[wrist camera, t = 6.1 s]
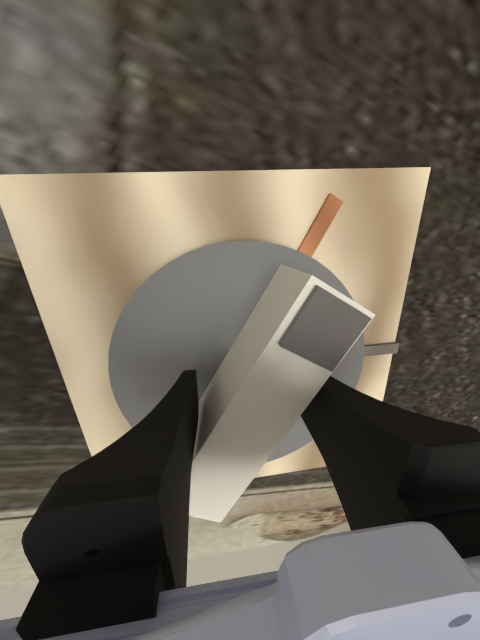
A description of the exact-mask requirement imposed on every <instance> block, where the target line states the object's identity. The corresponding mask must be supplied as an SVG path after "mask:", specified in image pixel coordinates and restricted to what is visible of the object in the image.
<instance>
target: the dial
mask: <svg viewBox="0 0 480 640" xmlns="http://www.w3.org/2000/svg"><path fill="white" fill-rule="evenodd" d="M374 316H375V314H374V313H372V312H371V311H369V310H367V309H366V308H364V307H363V306H361V305H359V304H358V303H356V302H355V301H354V300H353V298H352V296H351V295H350V293H349V292H348V291H347V289H346V288H345V286H344V285H343V283H342V282H341V281H340V280H339V279H338V278H337V277H336V276H335V275H334V274H333V273H332V272H331V271H330V270H329V269H327V268H326V267H325V266H324V265H322V264H321V263H320V262H318V261H317V260H315V259H313V258H311V257H310V256H308V255H306V254H304V253H302V252H300V251H297V250H294V249H292V248H289V247H286V246H283V245H278V244H273V243H269V242H260V241H245V240H240V241H227V242H220V243H216V244H211V245H206V246H203V247H200V248H198V249H195V250H192V251H190V252H187V253H185V254H183V255H181V256H180V257H178V258H176V259H174V260H172V261H170V262H169V263H167V264H166V265H164V266H163V267H162V268H160V269H159V270H158V271H156V272H155V273H153V274H152V275H151V276H150V277H149V278H148V279H147V280H146V281H145V282H144V283H143V284H142V285H141V286H140V287H139V288H138V289H137V290H136V291H135V293H134V294H133V295H132V297H131V298H130V299H129V301H128V302H127V303H126V305H125V307H124V308H123V310H122V312H121V314H120V316H119V318H118V320H117V322H116V325H115V328H114V331H113V334H112V336H111V342H110V347H109V353H108V372H109V379H110V385H111V388H112V392H113V395H114V398H115V401H116V403H117V405H118V407H119V409H120V411H121V413H122V414H123V416H124V417H125V419H126V420H127V421H128V423H129V424H130V426H131V427H132V428H133V427H134V426H135V425H137V424H138V423H139V422H140V421H141V420H142V419H143V418H145V417H146V416H147V415H148V414H149V413H150V412H151V411H152V410H153V409H154V408H155V406H156V405H157V404H158V403H159V402H160V401H161V400H162V399H163V397H164V396H165V395H166V394H167V392H168V391H169V390H170V389H171V387H172V386H173V385H174V383H175V382H176V381H177V379H178V378H179V376H180V375H181V373H182V372H183V371H184V370H196V373H197V387H198V400H199V411H198V426H197V433H196V440H195V447H194V454H193V461H192V470H191V483H190V503H189V516H192V517H197V518H202V519H206V520H211V521H216V522H220V523H221V521H222V520H223V519H224V517H225V516H226V515H227V513H228V512H229V511H230V509H231V508H232V507H233V505H234V504H235V503H236V501H237V500H238V499H239V497H240V496H241V494H242V493H243V492H244V490H245V489H246V488H247V486H248V485H249V484H250V482H251V481H252V480H253V478H254V477H255V476H256V474H257V473H258V472H259V470H260V469H261V468H262V466H263V465H264V464H265V463H266V462H270V461H273V460H276V459H278V458H281V457H284V456H286V455H288V454H290V453H292V452H294V451H296V450H298V449H300V448H301V447H303V446H305V445H306V444H308V443H309V442H311V441H312V440H313V438H312V436H311V434H310V432H309V431H308V429H307V427H306V425H305V423H304V421H303V419H302V417H301V414H302V413H303V411H304V410H305V409H306V407H307V406H308V405H309V403H310V402H311V401H312V399H313V398H314V397H315V395H316V394H317V393H318V391H319V390H320V389H321V387H322V386H323V385H324V383H325V382H326V381H327V379H328V378H329V377H330V376H332V377H333V378H335V379H337V380H339V381H340V382H342V383H344V384H346V385H348V386H350V387H352V388H354V389H355V388H356V386H357V383H358V381H359V378H360V374H361V370H362V367H363V360H364V352H365V347H364V332H363V331H364V330H365V328H366V327H367V326H368V324H369V323H370V322H371V320H372V319H373V318H374Z"/></svg>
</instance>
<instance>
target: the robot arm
mask: <svg viewBox="0 0 480 640" xmlns="http://www.w3.org/2000/svg"><path fill="white" fill-rule="evenodd" d="M198 411H199V400H198V387H197V373H196V370H184V371H183V372H182V373H181V375H180V376H179V378H178V379H177V381H176V382H175V383H174V385H173V386H172V387H171V389H170V390H169V391H168V392H167V394H166V395H165V396H164V397H163V399H162V400H161V401H160V402H159V403H158V404H157V405H156V406H155V408H154V409H153V410H152V411H151V412H150V413H149V414H148V415H147V416H146V417H145V418H143V419H142V420H141V421H140V422H139V423H138V424H137V425H135V426H134V427H133V428H132V429H130V430H129V431H128V432H127V433H125V434H124V435H123V436H122V437H120V438H119V439H118V440H116V441H115V442H113V443H112V444H111V445H109V446H108V447H106V448H105V449H103V450H102V451H100V452H99V453H97V454H95V455H94V456H92V457H91V458H89V459H87V460H86V461H84V462H82V463H80V464H79V465H77V466H75V467H74V468H72V469H70V470H68V471H67V472H65V473H63V474H61V475H60V477H59V478H58V479H57V481H56V482H55V484H54V485H53V486H52V488H51V489H50V491H49V492H48V494H47V495H46V497H45V498H44V500H43V502H42V503H41V505H40V506H39V508H38V510H37V511H36V513H35V514H34V516H33V518H32V519H31V521H30V522H29V524H28V526H27V527H26V529H25V530H24V532H23V536H22V541H21V542H22V545H23V549H24V552H25V555H26V557H27V559H28V561H29V562H30V564H31V566H32V568H33V570H34V572H35V574H36V576H37V577H38V579H39V582H38V584H37V586H36V588H35V590H34V592H33V594H32V597H31V599H30V601H29V603H28V605H27V607H26V609H25V611H24V613H23V615H22V617H16V618H11V619H5V620H0V640H480V432H479V431H478V430H476V429H475V428H473V427H469V426H464V425H460V424H455V423H451V422H447V421H442V420H438V419H435V418H431V417H427V416H424V415H420V414H417V413H414V412H411V411H408V410H404V409H402V408H399V407H396V406H393V405H390V404H388V403H385V402H383V401H380V400H378V399H375V398H373V397H371V396H368V395H366V394H364V393H362V392H360V391H358V390H356V389H354V388H352V387H350V386H348V385H346V384H344V383H342V382H340V381H339V380H337V379H335V378H333V377H332V376H330V377H329V378H328V379H327V381H326V382H325V383H324V385H323V386H322V387H321V389H320V390H319V391H318V393H317V394H316V395H315V397H314V398H313V399H312V401H311V402H310V403H309V405H308V406H307V407H306V409H305V410H304V411H303V413H302V414H301V417H302V419H303V421H304V423H305V425H306V427H307V429H308V431H309V432H310V434H311V436H312V438H313V440H314V442H315V444H316V445H317V447H318V449H319V451H320V453H321V455H322V457H323V459H324V462H325V464H326V467H327V469H328V471H329V474H330V476H331V479H332V481H333V484H334V486H335V489H336V491H337V494H338V496H339V499H340V501H341V504H342V507H343V509H344V512H345V515H346V518H347V520H348V523H349V526H350V529H351V531H348V532H342V533H336V534H330V535H324V536H320V537H317V538H313V539H310V540H307V541H304V542H302V543H300V544H299V545H298V546H296V547H295V548H294V549H292V550H291V551H289V552H288V553H287V554H286V556H285V558H284V560H283V562H282V564H281V566H280V568H279V570H278V571H274V572H268V573H262V574H257V575H251V576H246V577H241V578H234V579H229V580H223V581H218V582H212V583H207V584H201V585H195V586H190V587H186V577H187V576H186V575H187V550H188V525H189V503H190V483H191V470H192V461H193V454H194V447H195V440H196V433H197V426H198Z"/></svg>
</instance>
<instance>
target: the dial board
mask: <svg viewBox="0 0 480 640" xmlns="http://www.w3.org/2000/svg"><path fill="white" fill-rule="evenodd" d="M430 169H431V167H418V168H361V169H304V170H247V171H190V172H134V173H77V174H20V175H0V205H1V208H2V211H3V213H4V216H5V219H6V222H7V224H8V227H9V230H10V233H11V235H12V238H13V241H14V244H15V246H16V249H17V252H18V255H19V257H20V260H21V263H22V266H23V269H24V271H25V274H26V277H27V280H28V282H29V285H30V288H31V291H32V293H33V296H34V299H35V302H36V304H37V307H38V310H39V313H40V315H41V318H42V321H43V324H44V326H45V329H46V332H47V335H48V337H49V340H50V343H51V346H52V348H53V351H54V354H55V357H56V360H57V362H58V365H59V368H60V371H61V373H62V376H63V379H64V382H65V384H66V387H67V390H68V393H69V395H70V398H71V401H72V404H73V406H74V409H75V412H76V415H77V417H78V420H79V423H80V426H81V428H82V431H83V434H84V437H85V439H86V442H87V445H88V448H89V451H90V453H91V456H94V455H95V454H97V453H99V452H100V451H102V450H103V449H105V448H106V447H108V446H109V445H111V444H112V443H113V442H115V441H116V440H118V439H119V438H120V437H122V436H123V435H124V434H125V433H127V432H128V431H129V430H130V429H132V427H131V426H130V424H129V423H128V421H127V420H126V419H125V417H124V416H123V414H122V413H121V411H120V409H119V407H118V405H117V403H116V401H115V398H114V395H113V392H112V388H111V385H110V379H109V372H108V353H109V347H110V342H111V336H112V334H113V331H114V328H115V325H116V322H117V320H118V318H119V316H120V314H121V312H122V310H123V308H124V307H125V305H126V303H127V302H128V301H129V299H130V298H131V297H132V295H133V294H134V293H135V291H136V290H137V289H138V288H139V287H140V286H141V285H142V284H143V283H144V282H145V281H146V280H147V279H148V278H149V277H150V276H151V275H152V274H153V273H155V272H156V271H158V270H159V269H160V268H162V267H163V266H164V265H166V264H167V263H169V262H170V261H172V260H174V259H176V258H178V257H180V256H181V255H183V254H185V253H187V252H190V251H192V250H195V249H198V248H200V247H203V246H206V245H211V244H216V243H220V242H227V241H240V240H245V241H260V242H269V243H273V244H278V245H283V246H286V247H289V248H292V249H294V250H297V251H300V252H302V253H304V254H306V255H308V256H310V257H311V258H313V259H315V260H317V261H318V262H320V263H321V264H322V265H324V266H325V267H326V268H327V269H329V270H330V271H331V272H332V273H333V274H334V275H335V276H336V277H337V278H338V279H339V280H340V281H341V282H342V283H343V285H344V286H345V288H346V289H347V291H348V292H349V293H350V295H351V296H352V298H353V300H354V301H355V302H356V303H358V304H359V305H361V306H363V307H364V308H366V309H367V310H369V311H371V312H372V313H374V314H375V316H374V318H373V319H372V320H371V322H370V323H369V324H368V326H367V327H366V328H365V330H364V331H363V332H364V347H365V352H364V360H363V367H362V370H361V374H360V378H359V381H358V383H357V386H356V388H355V389H356V390H358V391H360V392H362V393H364V394H366V395H368V396H371V397H373V398H375V399H378V400H380V401H383V398H384V393H385V388H386V383H387V378H388V373H389V368H390V364H391V359H392V354H393V353H397V352H398V347H399V343H398V342H395V339H396V334H397V329H398V325H399V320H400V315H401V310H402V305H403V300H404V295H405V290H406V286H407V281H408V276H409V271H410V266H411V261H412V256H413V252H414V247H415V242H416V237H417V232H418V227H419V222H420V217H421V213H422V208H423V203H424V198H425V193H426V188H427V183H428V179H429V174H430ZM325 466H326V464H325V462H324V459H323V457H322V455H321V453H320V451H319V449H318V447H317V445H316V444H315V442H314V440H312V441H311V442H309V443H308V444H306V445H305V446H303V447H301V448H300V449H298V450H296V451H294V452H292V453H290V454H288V455H286V456H284V457H281V458H278V459H276V460H273V461H270V462H266V463H265V464H264V465H263V466H262V468H261V469H260V470H259V472H258V473H257V474H256V476H255V477H254V478H256V477H262V476H269V475H275V474H281V473H287V472H294V471H300V470H306V469H312V468H319V467H325Z"/></svg>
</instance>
